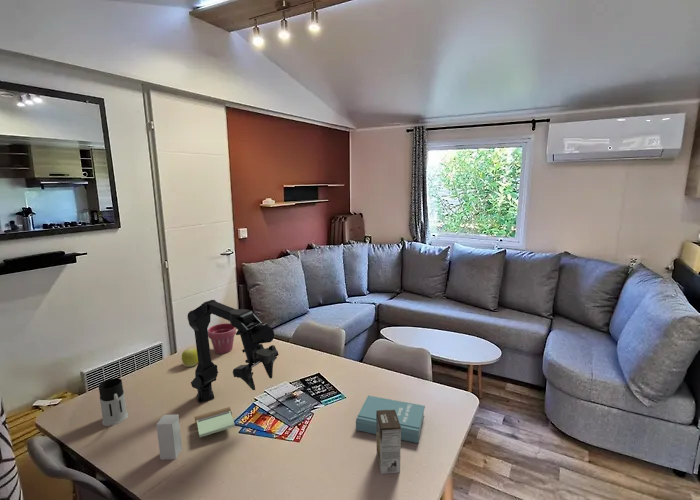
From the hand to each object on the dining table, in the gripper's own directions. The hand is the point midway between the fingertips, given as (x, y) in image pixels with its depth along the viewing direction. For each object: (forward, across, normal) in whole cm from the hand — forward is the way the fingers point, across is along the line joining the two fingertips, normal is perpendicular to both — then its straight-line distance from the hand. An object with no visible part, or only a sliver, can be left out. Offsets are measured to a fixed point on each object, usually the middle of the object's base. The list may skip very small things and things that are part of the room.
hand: (262, 383), depth 137 cm
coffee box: (+30, +2, -43) cm, 52 cm away
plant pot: (-3, +35, +64) cm, 73 cm away
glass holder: (0, -27, +53) cm, 59 cm away
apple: (-4, +16, +65) cm, 67 cm away
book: (+28, +21, -36) cm, 51 cm away
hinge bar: (+10, -9, +22) cm, 25 cm away
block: (+10, -28, +20) cm, 36 cm away
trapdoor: (+9, -13, +15) cm, 22 cm away
